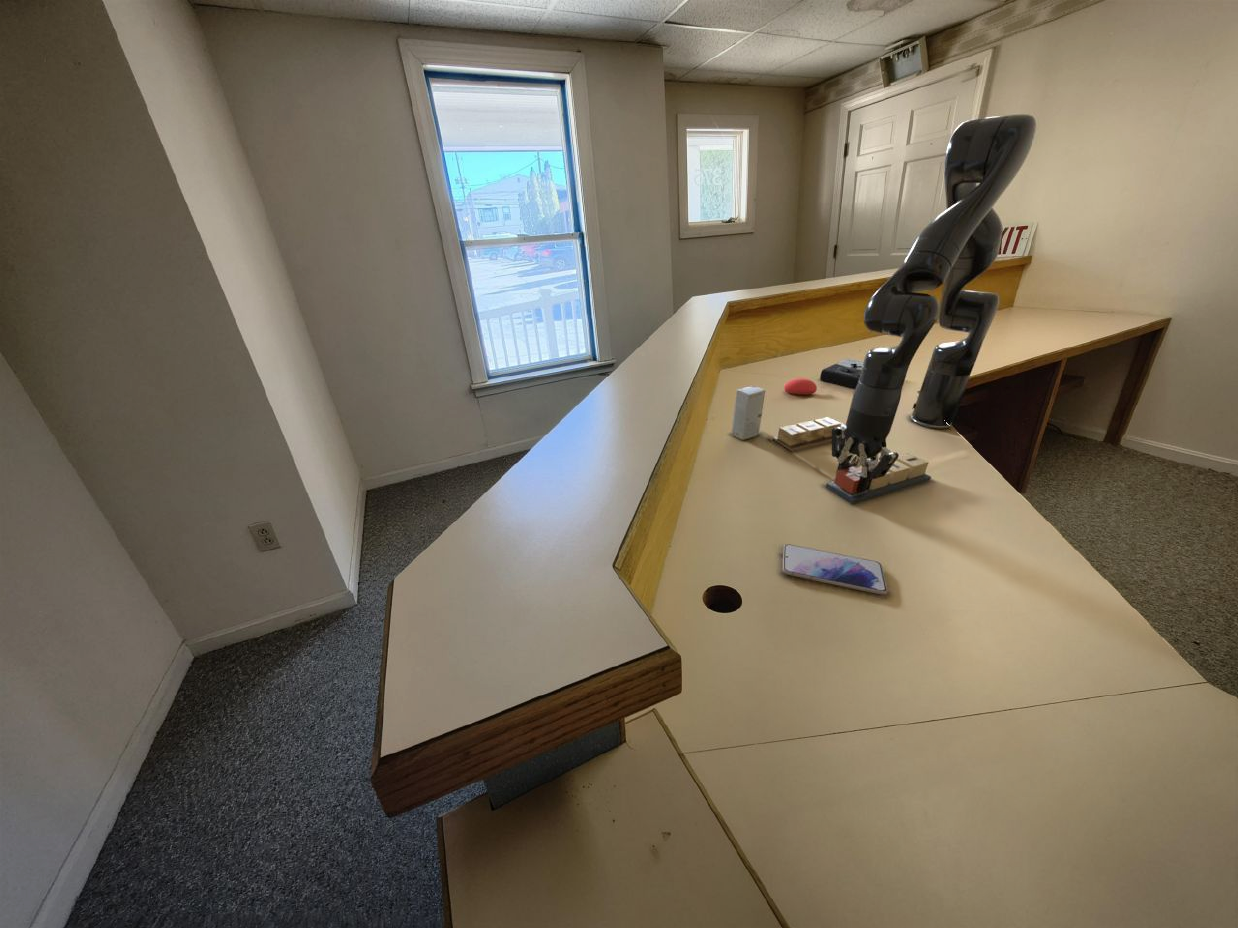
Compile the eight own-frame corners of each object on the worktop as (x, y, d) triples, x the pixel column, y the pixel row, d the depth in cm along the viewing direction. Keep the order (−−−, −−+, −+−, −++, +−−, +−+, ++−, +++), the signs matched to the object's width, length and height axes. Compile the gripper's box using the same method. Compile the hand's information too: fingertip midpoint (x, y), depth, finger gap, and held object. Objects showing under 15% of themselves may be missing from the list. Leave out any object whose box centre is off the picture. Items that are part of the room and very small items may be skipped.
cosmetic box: (743, 440, 113) (749, 395, 107) (730, 434, 117) (735, 389, 111) (760, 434, 116) (767, 389, 110) (746, 428, 120) (753, 384, 114)
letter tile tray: (838, 425, 121) (841, 411, 119) (859, 435, 115) (863, 421, 113) (771, 440, 113) (774, 425, 111) (790, 452, 108) (794, 436, 106)
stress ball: (809, 403, 138) (821, 385, 136) (783, 389, 139) (794, 371, 137) (807, 403, 142) (818, 385, 141) (781, 389, 144) (792, 371, 142)
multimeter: (818, 380, 152) (822, 365, 149) (844, 368, 163) (847, 354, 160) (858, 390, 143) (862, 375, 141) (882, 376, 154) (886, 362, 152)
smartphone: (888, 593, 67) (782, 570, 72) (886, 597, 68) (781, 575, 72) (881, 561, 73) (784, 542, 77) (879, 565, 73) (783, 546, 78)
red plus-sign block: (850, 478, 94) (853, 465, 93) (868, 489, 91) (872, 476, 89) (833, 483, 93) (837, 470, 91) (851, 494, 89) (855, 480, 88)
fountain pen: (846, 486, 94) (848, 480, 93) (840, 485, 95) (842, 479, 94) (859, 458, 104) (861, 453, 103) (854, 457, 105) (855, 451, 104)
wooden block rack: (900, 465, 102) (906, 449, 100) (929, 480, 96) (936, 464, 94) (825, 487, 94) (829, 470, 92) (852, 504, 89) (857, 486, 87)
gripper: (923, 417, 79) (895, 499, 87) (857, 391, 90) (837, 465, 99) (893, 424, 76) (866, 508, 85) (828, 396, 88) (810, 472, 96)
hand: (851, 484), depth 92 cm, fingers closed on red plus-sign block, 4 cm apart
